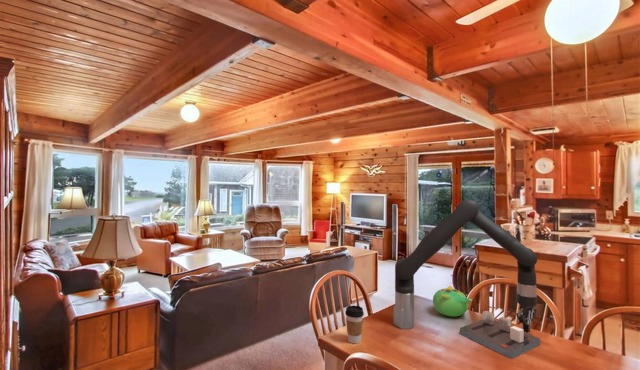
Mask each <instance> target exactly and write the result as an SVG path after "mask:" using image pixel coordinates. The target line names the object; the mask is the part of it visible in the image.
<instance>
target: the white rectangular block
mask: <svg viewBox="0 0 640 370" xmlns="http://www.w3.org/2000/svg"><path fill="white" fill-rule="evenodd" d="M510 339H512V340H514V341H516V342H519V343H521V342H523V341H524V330H523V328H520V327H518V326H515V325H514V326H513V325H512V326H511V327H510Z"/></svg>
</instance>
